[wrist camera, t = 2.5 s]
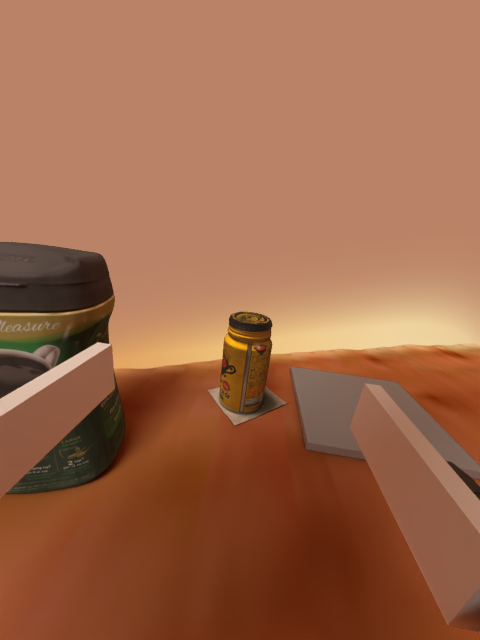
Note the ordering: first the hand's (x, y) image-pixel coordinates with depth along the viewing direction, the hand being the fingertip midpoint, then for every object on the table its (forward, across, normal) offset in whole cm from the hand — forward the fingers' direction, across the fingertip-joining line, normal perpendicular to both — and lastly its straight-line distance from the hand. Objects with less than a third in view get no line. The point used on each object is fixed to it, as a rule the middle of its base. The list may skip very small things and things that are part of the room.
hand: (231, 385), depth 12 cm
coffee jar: (+4, -15, -13) cm, 20 cm away
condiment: (+16, +1, -13) cm, 21 cm away
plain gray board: (+17, +17, -13) cm, 27 cm away
